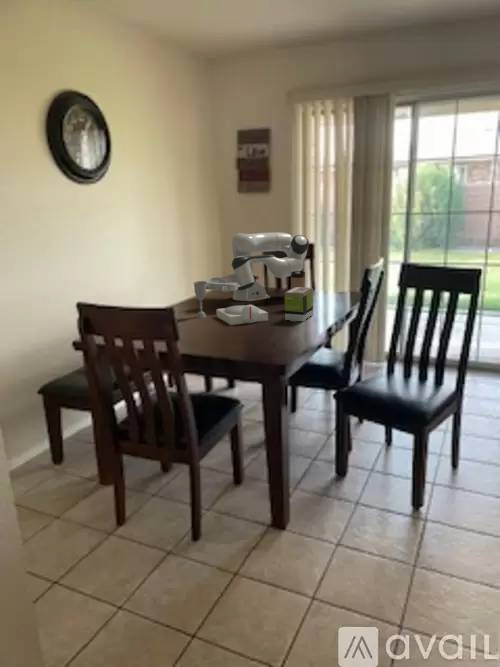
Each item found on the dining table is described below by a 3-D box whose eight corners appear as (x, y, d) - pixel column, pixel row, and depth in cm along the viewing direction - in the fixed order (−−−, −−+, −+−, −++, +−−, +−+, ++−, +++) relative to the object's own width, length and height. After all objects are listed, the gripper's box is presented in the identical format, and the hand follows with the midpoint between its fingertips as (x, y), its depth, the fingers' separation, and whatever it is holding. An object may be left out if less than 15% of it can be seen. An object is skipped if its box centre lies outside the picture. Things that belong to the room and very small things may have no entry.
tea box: (295, 314, 261) (295, 286, 257) (313, 315, 256) (314, 287, 252) (284, 320, 248) (284, 291, 244) (303, 322, 243) (303, 292, 239)
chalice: (195, 315, 263) (193, 281, 258) (208, 314, 264) (206, 280, 259) (194, 318, 256) (192, 283, 251) (208, 317, 257) (206, 283, 252)
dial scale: (252, 312, 266) (251, 295, 264) (269, 321, 247) (269, 303, 245) (216, 316, 259) (216, 299, 256) (231, 325, 240) (231, 307, 237)
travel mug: (306, 307, 276) (306, 271, 270) (303, 310, 269) (303, 273, 263) (292, 306, 278) (292, 271, 273) (289, 309, 271) (289, 273, 266)
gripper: (242, 291, 274) (231, 295, 262) (209, 288, 283) (197, 293, 271) (242, 279, 273) (230, 283, 261) (209, 277, 281) (196, 281, 269)
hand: (213, 288), depth 266 cm, fingers open, 8 cm apart
